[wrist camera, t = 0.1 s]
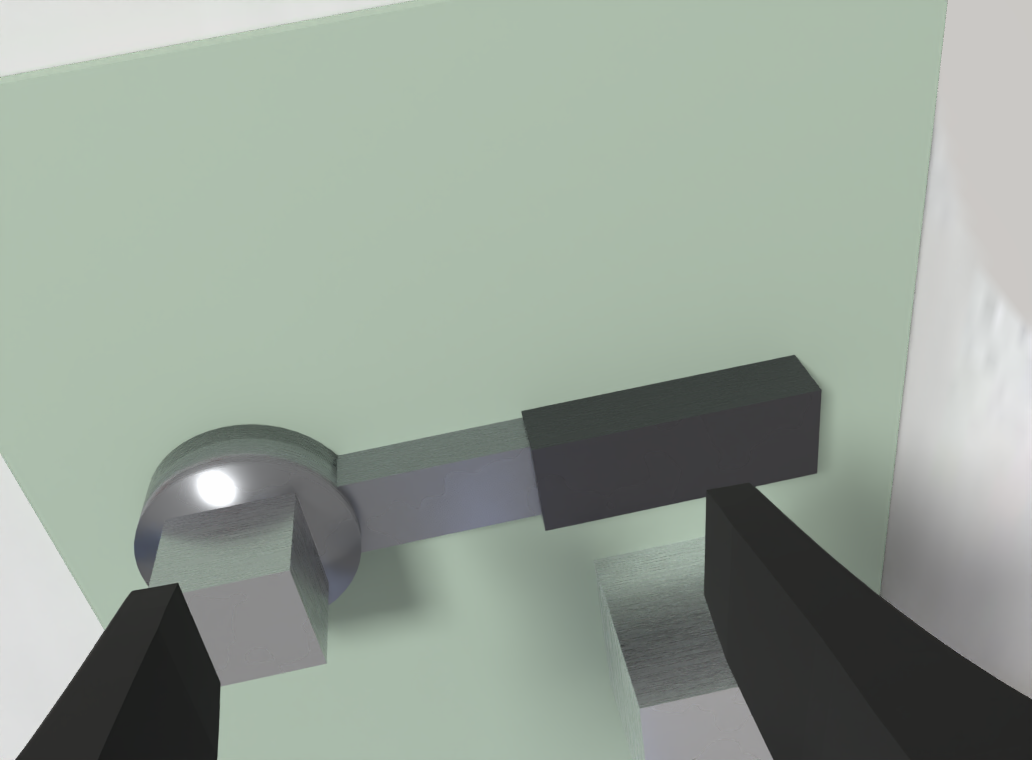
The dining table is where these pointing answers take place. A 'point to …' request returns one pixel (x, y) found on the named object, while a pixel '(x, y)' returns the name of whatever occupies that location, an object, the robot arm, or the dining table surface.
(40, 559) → the dining table surface
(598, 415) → the handled tool
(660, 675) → the brushed metal cube
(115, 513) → the mat
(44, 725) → the robot arm
